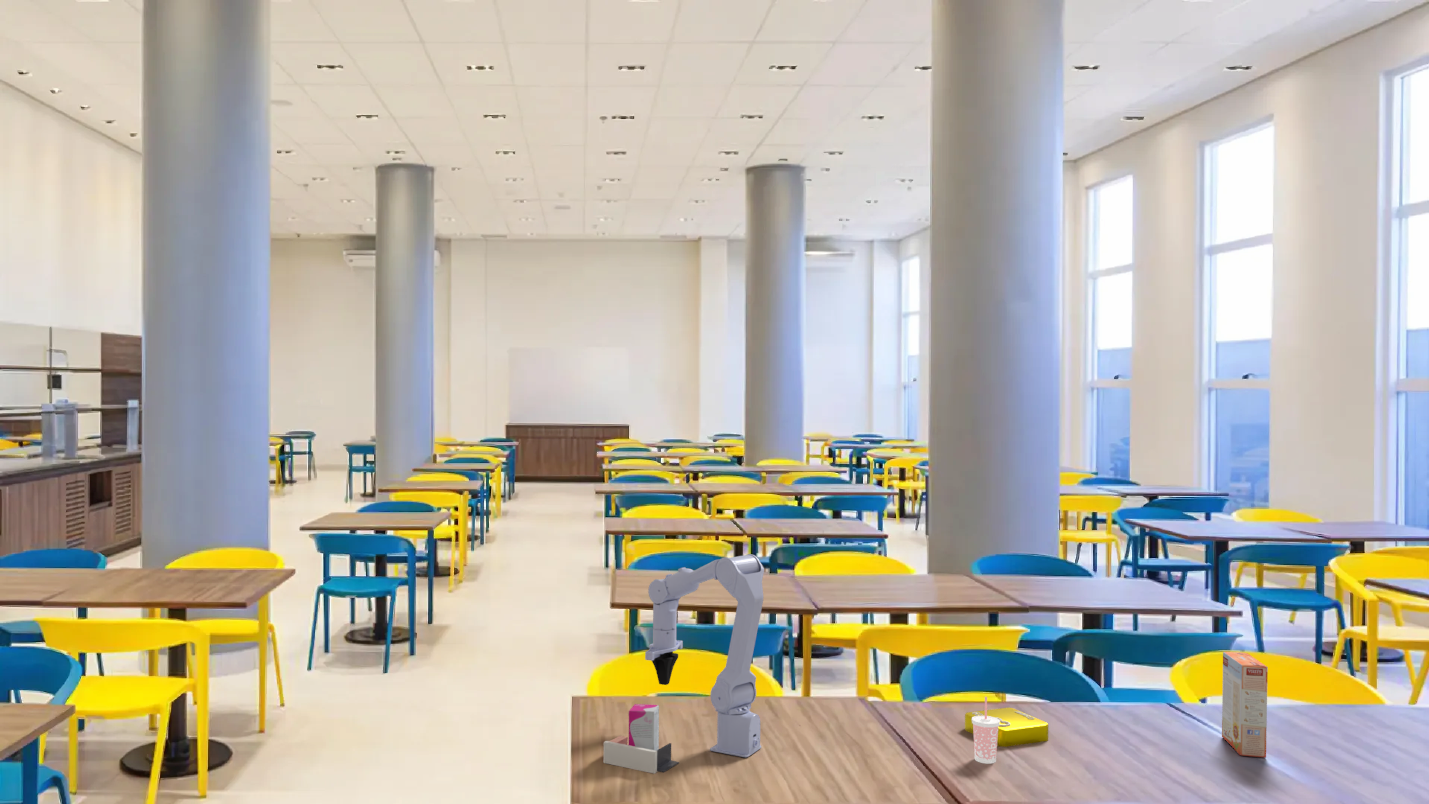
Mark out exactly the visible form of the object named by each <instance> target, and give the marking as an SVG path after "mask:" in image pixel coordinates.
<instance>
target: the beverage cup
mask: <svg viewBox="0 0 1429 804" xmlns="http://www.w3.org/2000/svg"><path fill="white" fill-rule="evenodd" d="M984 710H985V716H974V717H972V723H973V734H972V735H973V747H974V748H973V749H974V751H973V752H974V760H975V761H976V762H978V763H981V764H986V765H987V764H995V763H996V762H997V753H998V752H997V750H998V746H997V739H998V726H999V725H1000V720H999V719H997V718H995V717H991V716H987V710H988V697H987V696H984Z"/></svg>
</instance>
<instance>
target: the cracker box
mask: <svg viewBox="0 0 1429 804" xmlns="http://www.w3.org/2000/svg"><path fill="white" fill-rule="evenodd" d="M1268 670H1269V669H1268V666H1266V665H1265V664H1264V663H1262V662H1260V660H1258V659H1257V658H1255V657H1254V656H1253V655H1251V654H1249V653H1247V652H1241V651H1236V652H1235V651H1223V652H1222V698H1221V699H1222V703H1221V705H1222V707H1221V708H1222V709H1221V710H1222V712H1221V714H1222V715H1221V718H1222V719H1221V738H1222V737H1223V738H1224V739H1223V738H1222V739H1223V740H1224V741H1225V740H1226V741H1227V742H1228V743H1229V744H1230V745H1231V746H1232V747H1231V748H1232V749H1233V748H1234V749H1233V750H1234V751H1236V752H1237V754H1238V755H1239V756H1243V757H1254V758H1264V759H1265V758H1267V727H1268V724H1267V723H1268V719H1267V718H1268V717H1267V716H1268V674H1269V673H1268ZM1226 741H1225V742H1226ZM1227 742H1226V743H1227ZM1228 743H1227V744H1228ZM1229 744H1228V745H1229ZM1230 745H1229V746H1230Z"/></svg>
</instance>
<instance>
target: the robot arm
mask: <svg viewBox="0 0 1429 804" xmlns="http://www.w3.org/2000/svg"><path fill="white" fill-rule="evenodd" d="M764 573H765V568H764V565H763V564H762V563H761V560H760V559H759V558H758V557H757V556H756V555H755V554H751V553H748V554H745V555H738V556H732V557H722V558H720V559H719V558H718V559H715V560H712V561H711V562H709V563H707V564H704V565H703V566H699V568H697V569H695V570H693V569H691V568H686V567H685V566H684V567H680V568H678V569H677V572H675V573H673V574H672V573H668V574H666V575H665V578H661V579H659V578H658V579H657V578H655V579H653V581H651V582H650V583H649V585H648V591H647V592H648V597H649V599H650V600H651V602H652V604H653V609H652V612H653V613H652V643H650V644H649V645H648V648H649V649H648V650H647V651H645V658H644V660H646V661H651V663H652V665H653V666H654V669H655V672H656V676H657V681H658V684H659V685H665V686H667V685H669V684H670V681H671V676H672V674H673V669H674V667H675V664H676V662H677V661H678V659H679V654H678V653H675V652H676V651H677V650H682V649H683V647H684V646H683V645H684V643H683V642H684V641H683V640H679V639H677V621H678V620H677V619H678V618H677V613H678V612H677V611H678V607H679V604H680V603H679V602H680V599H681V597H684V596H686V595H689V594H691V593H694V592H696V591H697V590H698V589H699V587H700V584H702V583H704V582H708V581H710V580H713V579H714V580H716V581H717V580H718V582H719V583H720V584H721V585H722V587H723V588H724V589H725V590H726V591H727V592H728V593H729V594H730V595H731V596H732V597H733V598H735V600H736V601H737V605H736V610H735V611H736V612H735V617H734V620H733V621H734V622H733V626H732V632H731V637H730V642H729V648H728V653H727V658H726V663H725V667H724V668H723V670H722V671H720V673H719V674H718V675H717V677H716V680H715V683H714V685H713V687H711V690H710V702H711V704H712V706H713V707H714V710H715V712H717V719H716V720H717V721H716V722H717V724H716V725H717V729H716V730H717V734H716V735H717V736H716V738H717V740H716V744H715V745H712V747H710V748H709V751H711V752H716V753H720V754H725V755H731V756H736V757H740V758H741V757H742V758H749V757H750V756H751V755H753V754H754V753H757V751H759V750H760V749H761V748H762V745H761V718H760V716H759V714H757V713H754V712H753V711H751V709H752V704H753V703H754V702H755V700H756V698H757V697H756V696H757V688H756V681H757V676H756V675H755V674H754V673H753V672H752V671H751V666H752V661H753V656H754V655H753V654H754V649H755V646H756V640H757V635H758V634H757V633H758V630H759V629H758V628H759V624H760V620H761V614H762V610H763V609H762V608H763V604H764V589H763V579H764Z"/></svg>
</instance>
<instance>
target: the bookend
mask: <svg viewBox="0 0 1429 804" xmlns="http://www.w3.org/2000/svg"><path fill="white" fill-rule="evenodd" d="M679 764H680V762H679V761H677V760H672V742H671V743H670V742H669V743H667V744H665V745H664V746H662V747H659V749H658V750H657V772H659V773H666V772H667V771H669V770H670V769H672V768H674V767H675V766H677V765H679Z"/></svg>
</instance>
